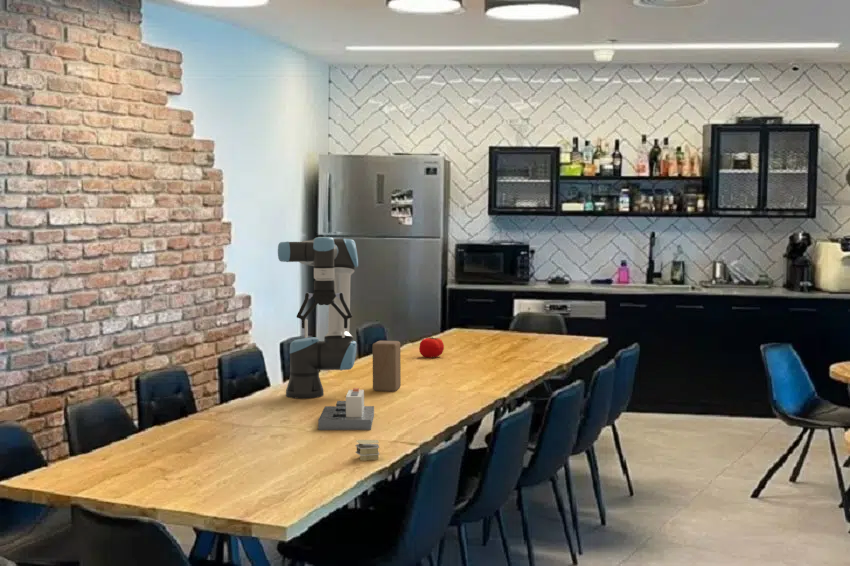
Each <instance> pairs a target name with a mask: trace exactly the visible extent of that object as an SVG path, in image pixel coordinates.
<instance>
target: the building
mask: <svg viewBox="0 0 850 566" xmlns="http://www.w3.org/2000/svg"><path fill="white" fill-rule="evenodd" d="M379 441H380V440H378V439H358V440H355V442H356V443H357V444H355V447H356V451H355V452H354V453H356V454H357V455H359V461H373V460H375V461H377V460H379V455H380V452H379V448H380V445H379V443H380V442H379Z"/></svg>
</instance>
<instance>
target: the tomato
mask: <svg viewBox="0 0 850 566" xmlns="http://www.w3.org/2000/svg"><path fill="white" fill-rule="evenodd" d="M418 348H419V353H420V354H421V356H422V357H424V358H437V357H440V356H441V355H442V354H443V353H444V349H445V344H444V341H443V340H442V339H441V338H438V337H426V338H423V339H422V340H421V341H420V343H419V347H418Z"/></svg>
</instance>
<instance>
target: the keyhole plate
mask: <svg viewBox="0 0 850 566" xmlns="http://www.w3.org/2000/svg"><path fill="white" fill-rule="evenodd" d="M374 418H375V406H374V405H364V411H363V414H362V417H346V406H336V405H335V406H334V405H333V406H332V405H329V406H328V405H327V406H326V405H325V406H324V408H323V409H322V412H321V414H320V415H319V417H318V420H317V421H318V427H317V428H318V431H351V430H352V431H357V430H358V431H359V430H360V431H371V430H372V426H373V422H374Z"/></svg>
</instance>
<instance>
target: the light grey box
mask: <svg viewBox="0 0 850 566" xmlns="http://www.w3.org/2000/svg"><path fill="white" fill-rule="evenodd" d="M345 401H346V417H362V414H363V411H364V406H365V390H364V389H360V387H353V388H352V389H348V390H347V394H346V396H345Z"/></svg>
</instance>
